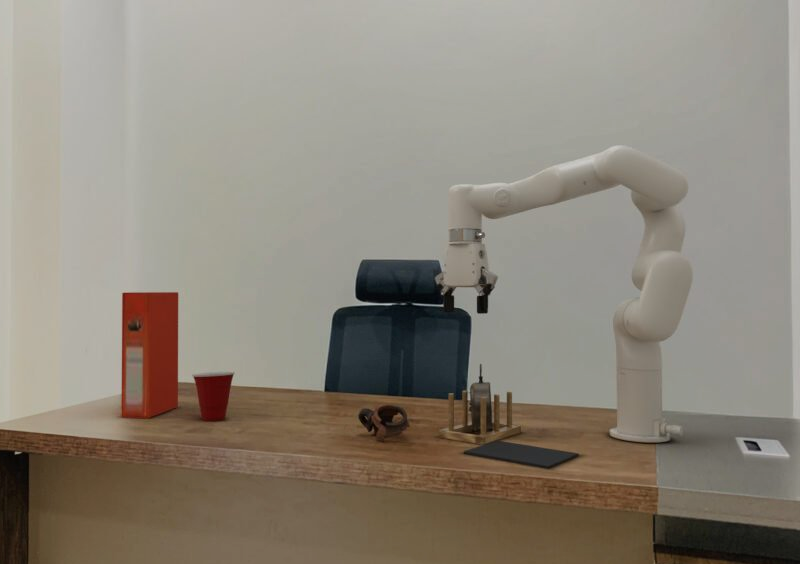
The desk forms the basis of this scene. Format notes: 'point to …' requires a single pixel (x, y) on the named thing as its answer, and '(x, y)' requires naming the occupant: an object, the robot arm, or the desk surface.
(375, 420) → the pottery mug
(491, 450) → the desk mat
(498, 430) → the dowel rack
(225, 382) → the plastic cup
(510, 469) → the desk surface
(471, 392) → the alarm clock
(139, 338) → the file binder
